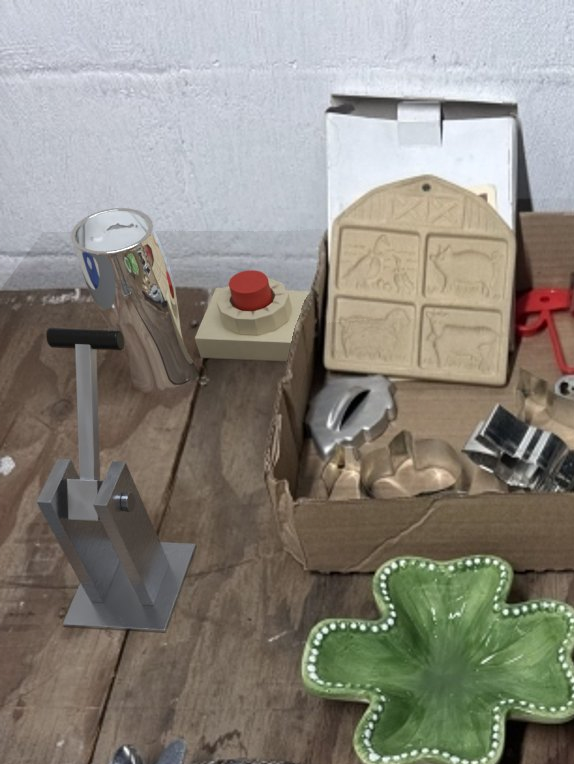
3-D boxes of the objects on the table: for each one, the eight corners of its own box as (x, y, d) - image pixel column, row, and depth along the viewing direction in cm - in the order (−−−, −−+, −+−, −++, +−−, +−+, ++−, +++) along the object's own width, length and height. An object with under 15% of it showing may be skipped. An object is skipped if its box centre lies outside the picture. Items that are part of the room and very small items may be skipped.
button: (229, 311, 99) (224, 292, 98) (239, 288, 101) (233, 269, 100) (267, 313, 99) (262, 293, 98) (276, 290, 101) (271, 270, 100)
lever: (58, 330, 76) (41, 324, 73) (128, 333, 75) (112, 327, 73) (65, 518, 78) (48, 518, 76) (132, 521, 78) (117, 521, 75)
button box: (200, 358, 101) (188, 321, 98) (221, 307, 106) (210, 270, 103) (304, 362, 101) (295, 325, 98) (321, 311, 105) (313, 274, 102)
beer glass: (190, 409, 97) (136, 257, 85) (117, 402, 98) (53, 250, 85) (215, 361, 101) (167, 209, 89) (145, 355, 102) (88, 203, 89)
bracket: (104, 548, 87) (47, 435, 78) (199, 553, 87) (155, 440, 77) (67, 634, 82) (2, 524, 73) (169, 639, 82) (117, 530, 72)
